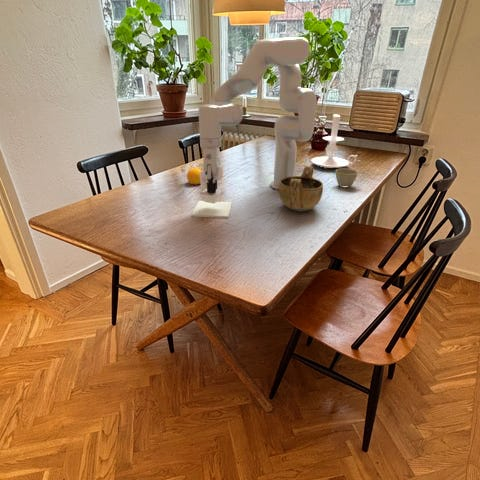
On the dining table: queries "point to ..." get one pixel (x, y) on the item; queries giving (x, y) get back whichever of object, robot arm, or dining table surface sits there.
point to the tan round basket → (301, 191)
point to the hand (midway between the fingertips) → (212, 190)
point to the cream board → (212, 209)
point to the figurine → (216, 196)
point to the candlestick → (333, 149)
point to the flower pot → (346, 176)
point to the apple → (194, 176)
